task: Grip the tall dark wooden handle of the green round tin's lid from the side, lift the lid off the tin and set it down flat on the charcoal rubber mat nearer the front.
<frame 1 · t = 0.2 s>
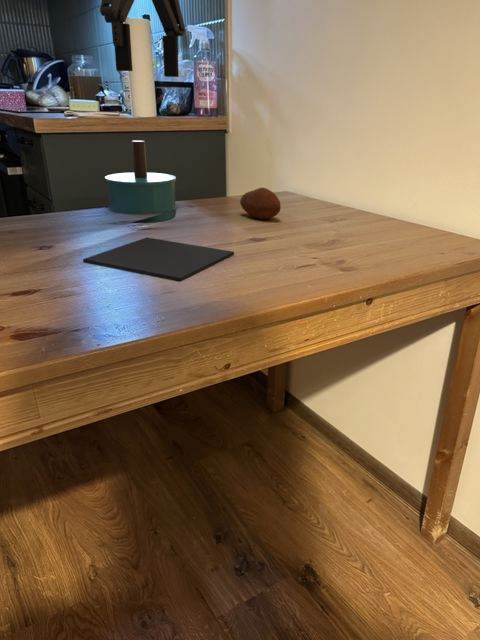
hand: (149, 74, 88), 27 cm above the table, tool pointing down, fingers open, 13 cm apart
tin lid: (141, 180, 105), point 7 cm above the table, touching green round tin
green round tin: (143, 216, 108), on the table
potato: (260, 218, 111), on the table
placemat: (161, 258, 80), on the table
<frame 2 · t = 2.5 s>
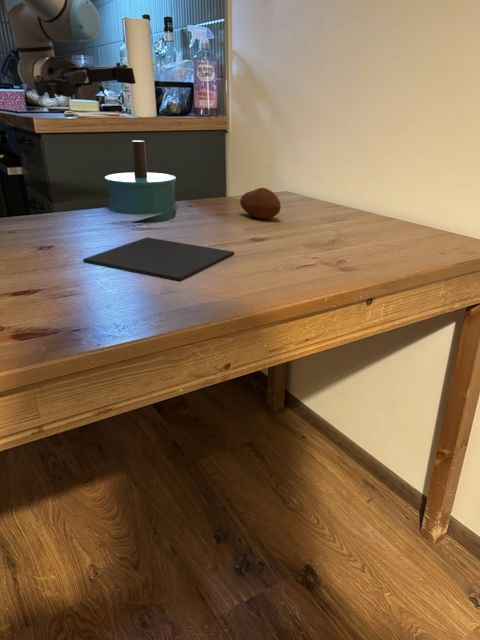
hand: (101, 82, 96), 25 cm above the table, tool horizontal, fingers open, 13 cm apart
nothing on the table moved.
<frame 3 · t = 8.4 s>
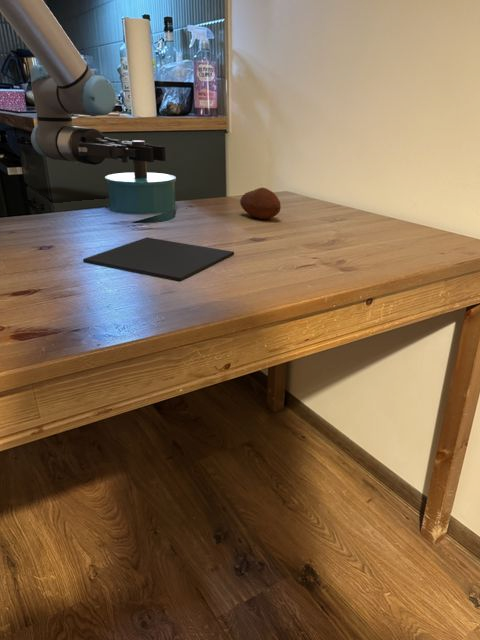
hand: (157, 154, 99), 13 cm above the table, tool horizontal, fingers closed on tin lid, 3 cm apart
tin lid: (141, 180, 105), point 8 cm above the table, touching gripper
everything else where it was.
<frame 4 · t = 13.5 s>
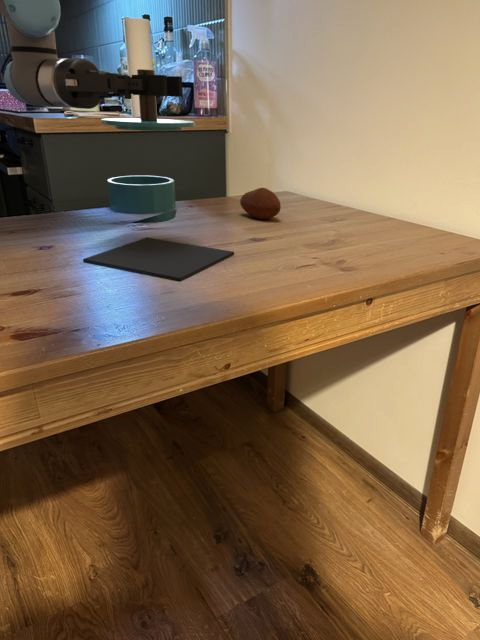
hand: (172, 86, 74), 25 cm above the table, tool horizontal, fingers closed on tin lid, 3 cm apart
tin lid: (149, 124, 79), point 19 cm above the table, touching gripper
everything else where it was.
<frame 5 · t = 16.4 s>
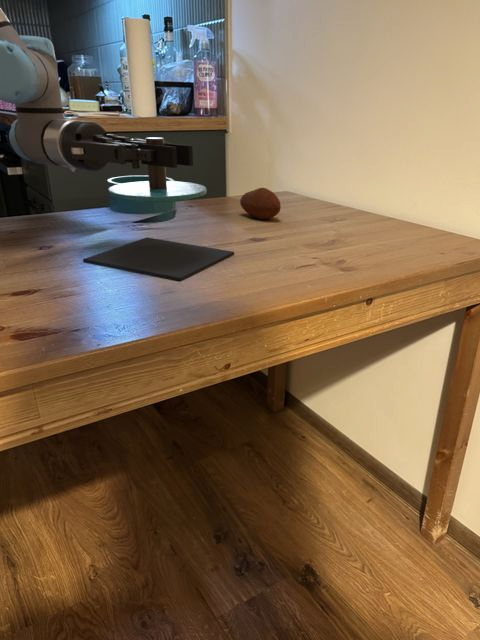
hand: (182, 156, 71), 16 cm above the table, tool horizontal, fingers closed on tin lid, 3 cm apart
tin lid: (158, 192, 76), point 10 cm above the table, touching gripper
everything else where it was.
when the fingers open (7 cm above the table, at t = 18.7 s): tin lid stays where it is, resting on placemat.
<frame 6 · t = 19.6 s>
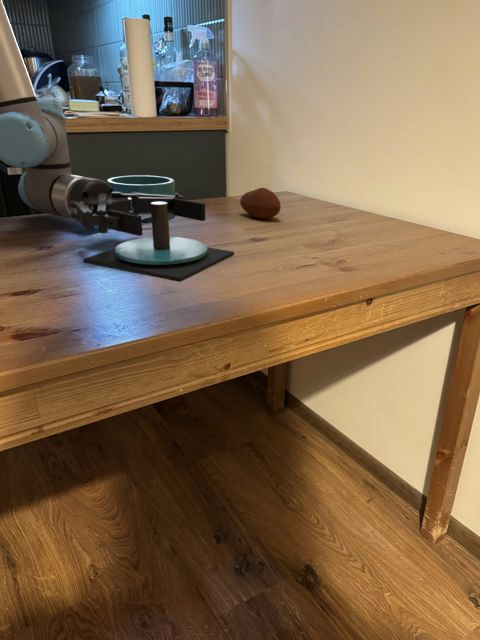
hand: (174, 218, 76), 7 cm above the table, tool horizontal, fingers open, 13 cm apart
tin lid: (162, 251, 80), point 1 cm above the table, touching placemat
everything else where it was.
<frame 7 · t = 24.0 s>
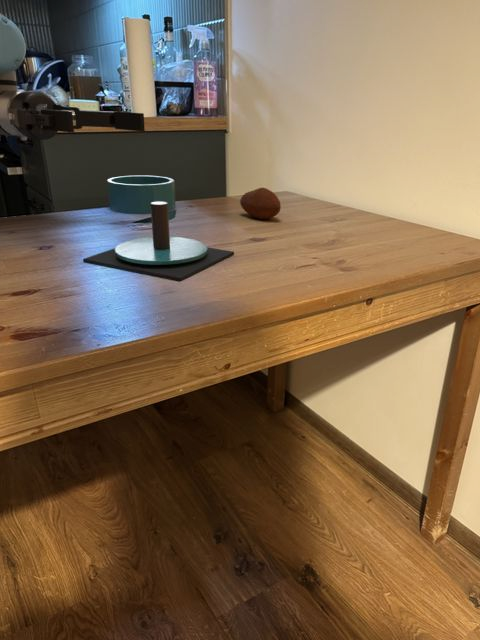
hand: (109, 122, 77), 20 cm above the table, tool horizontal, fingers open, 13 cm apart
nothing on the table moved.
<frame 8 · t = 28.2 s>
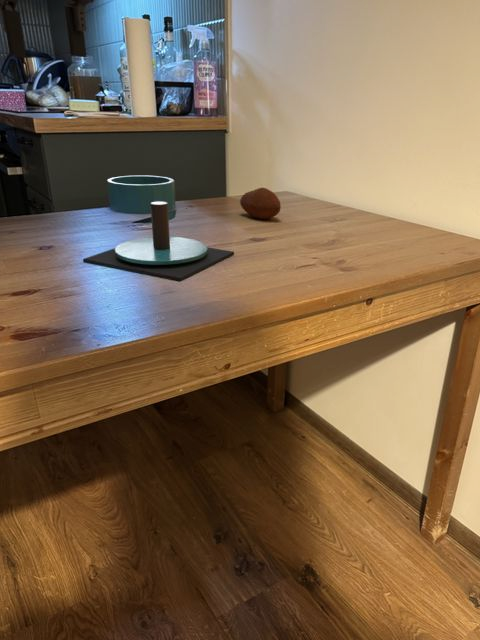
hand: (47, 56, 83), 29 cm above the table, tool pointing down, fingers open, 13 cm apart
nothing on the table moved.
at the end: tin lid inside the target area on the placemat (0.1 cm from its centre), point 1.1 cm above the placemat's base; tin lid tilted 0°; the gripper is holding nothing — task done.
